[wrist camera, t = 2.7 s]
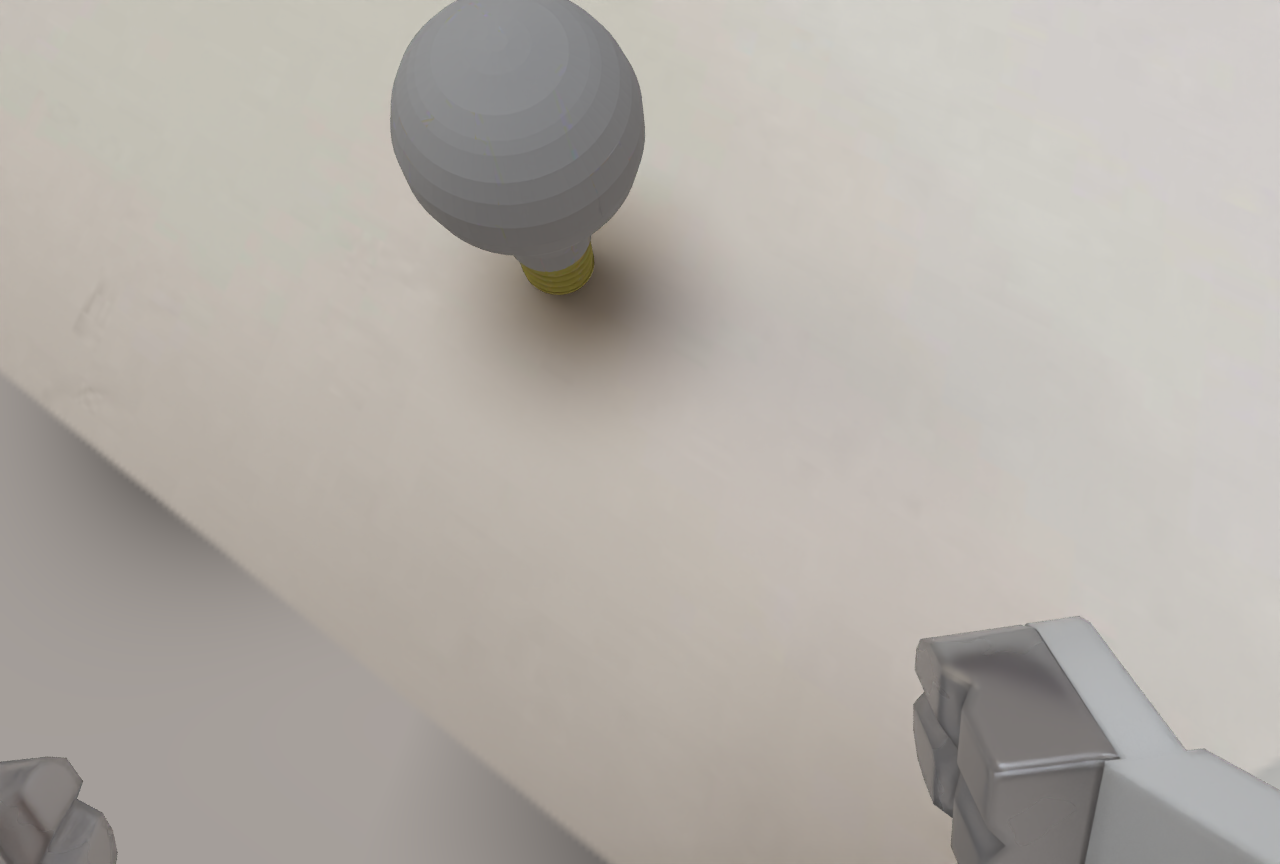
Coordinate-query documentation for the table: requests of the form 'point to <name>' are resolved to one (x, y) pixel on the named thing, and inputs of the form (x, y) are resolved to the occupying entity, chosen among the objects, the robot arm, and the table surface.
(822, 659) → the table surface
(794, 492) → the table surface
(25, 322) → the table surface
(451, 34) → the light bulb
